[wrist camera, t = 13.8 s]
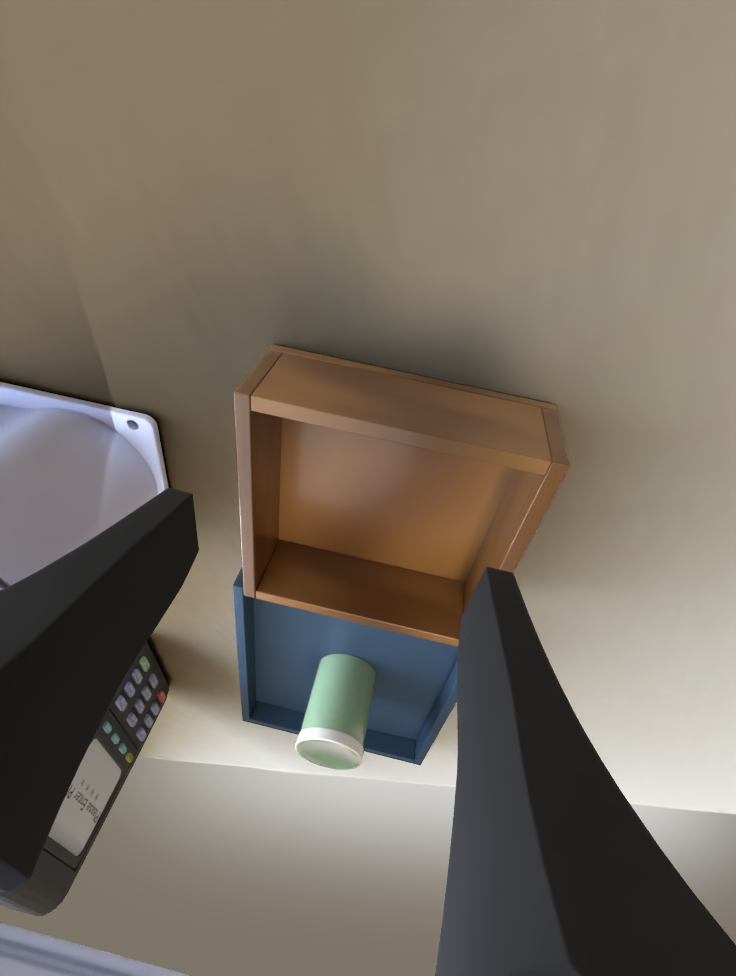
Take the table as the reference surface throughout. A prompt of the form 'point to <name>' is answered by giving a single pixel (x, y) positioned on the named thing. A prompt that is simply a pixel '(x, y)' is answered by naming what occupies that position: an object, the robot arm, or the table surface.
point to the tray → (311, 636)
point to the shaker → (337, 713)
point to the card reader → (94, 787)
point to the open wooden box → (385, 489)
